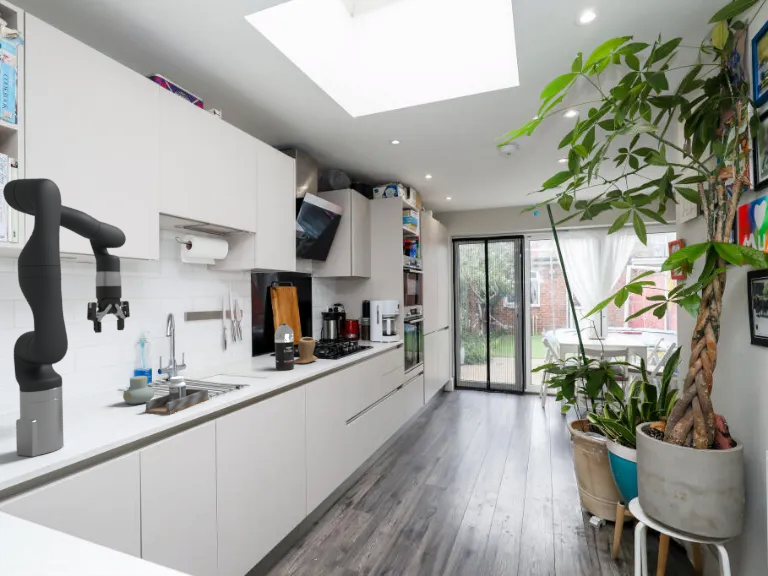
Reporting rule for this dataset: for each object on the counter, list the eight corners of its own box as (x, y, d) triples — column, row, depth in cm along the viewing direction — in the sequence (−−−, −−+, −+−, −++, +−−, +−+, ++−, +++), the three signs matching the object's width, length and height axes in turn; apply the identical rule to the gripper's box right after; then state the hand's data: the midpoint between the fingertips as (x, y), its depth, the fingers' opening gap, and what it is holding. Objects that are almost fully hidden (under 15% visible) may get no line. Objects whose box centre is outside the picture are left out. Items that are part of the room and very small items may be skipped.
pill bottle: (182, 400, 161) (181, 375, 161) (189, 403, 158) (188, 376, 158) (166, 404, 157) (166, 377, 157) (173, 406, 153) (172, 379, 153)
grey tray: (170, 414, 146) (170, 403, 146) (145, 412, 149) (145, 401, 149) (208, 399, 166) (208, 389, 166) (186, 398, 169) (185, 388, 169)
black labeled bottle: (271, 369, 227) (270, 323, 227) (288, 366, 234) (287, 322, 234) (281, 371, 219) (280, 324, 219) (298, 368, 226) (297, 323, 226)
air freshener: (156, 401, 164) (156, 376, 164) (135, 407, 157) (134, 380, 157) (142, 398, 170) (142, 374, 170) (120, 403, 163) (120, 377, 163)
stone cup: (308, 365, 236) (307, 339, 237) (291, 364, 242) (290, 338, 242) (322, 360, 250) (322, 336, 250) (306, 359, 255) (306, 335, 255)
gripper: (97, 284, 137) (98, 333, 137) (134, 284, 151) (135, 329, 151) (80, 285, 139) (81, 333, 139) (118, 285, 153) (119, 329, 153)
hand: (109, 331), depth 145 cm, fingers open, 8 cm apart
